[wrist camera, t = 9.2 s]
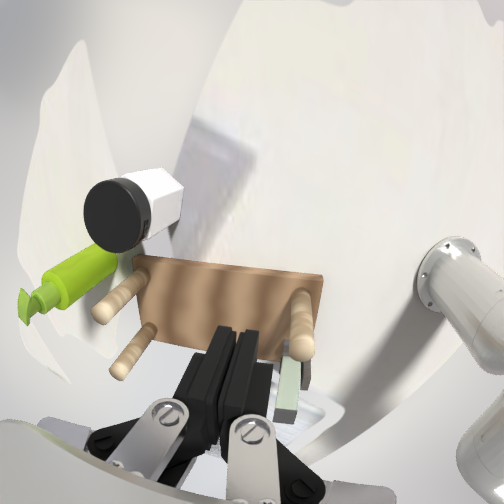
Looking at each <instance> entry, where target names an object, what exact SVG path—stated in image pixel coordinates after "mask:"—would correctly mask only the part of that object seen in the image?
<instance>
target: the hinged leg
mask: <svg viewBox="0 0 504 504" xmlns="http://www.w3.org/2000/svg"><path fill="white" fill-rule="evenodd" d="M300 366H301V362H298V361H295V360H293V359H292V358H291V357H289V356H283V358H282V365H281V372H280V379H279V385H278V392H277V398H276V405H275V411H274V417H273V422H276V423H285V424H294V421H295V418H296V415H297V407H298V395H299V381H300Z"/></svg>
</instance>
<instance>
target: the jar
mask: <svg viewBox="0 0 504 504" xmlns="http://www.w3.org/2000/svg"><path fill="white" fill-rule="evenodd" d="M183 192H184V187H183V186H181V185H180V184H179V183H178V182H177V181H176V180H175V179H174V178H173V177H172V176H170V175H169V174H168V173H167V172H166V171H165V170H164V169H163V168H155V169H149V170H144V171H138V172H133V173H128V174H124V175H123V176H121V177H119V178H114V179H110V180H106V181H102V182H100V183H98V184H96V185H95V186H94V187H93V188H92V189H91V190H90V191H89V193H88V195H87V197H86V200H85V203H84V222H85V226H86V229H87V231H88V233H89V235H90V237H91V238H92V240H93V241H94V242H95V243H96V244H97V245H98V246H99V247H100V248H102V249H103V250H105V251H107V252H110V253H123V252H125V251H127V250H130V249H132V248H133V247H135V246H136V245H138V244H139V243H140V242H141V241H144V240H147V239H149V238H151V237H152V236H154V235H155V234H157V233H158V232H160V231H162V230H163V229H165V228H166V227H168V226H169V225H171V224H173V223H174V222H176V221H177V220H179V219H180V213H181V206H182V199H183Z"/></svg>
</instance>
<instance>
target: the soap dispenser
mask: <svg viewBox="0 0 504 504" xmlns="http://www.w3.org/2000/svg"><path fill="white" fill-rule="evenodd" d="M117 263H118V260H117V255H116V253H110V252H107V251H105V250H103V249H102V248H100V247H99V246H98V245H97V244H96V243H94V244H93V245H91V246H89V247H87V248H85V249H84V250H82V251H80V252H78V253H77V254H75V255H73V256H72V257H70V258H68V259H66V260H65V261H63V262H61V263H60V264H58V265H56V266H55V267H53V268H51V269H50V270H48V271H47V272H45V273H44V274H43V276H42V286H40V287H39V288H37V289H36V290H34V291H33V292H32V293H31V297H30V296H29V295H28V294H27V293H26V292H25V291H24V290H23V289H22V288H21V289H20V293H19V297H18V316H19V318H20V319H21V320H22V321H23V322H24V323H25V324H26V325H27V326H28V325H29V324H30V317H32V316H33V315H34V314H36V313H37V312H39V313H41V314H46V313H47V312H48V311H50V310H51V309H52V308H53V307H56V308H57V309H60V310H65V309H67V308H68V307H69V306H70V305H72V304H73V303H74V302H75V301H77V300H78V299H79V298H80V297H82V296H83V295H84V294H85V293H87V292H88V291H89V290H90V289H92V288H93V287H94V286H96V285H97V284H98V283H99V282H101V281H102V280H103V279H105V278H106V277H107V276H109V275H110V274H111V273H112V272H114V271H115V270H116V268H117Z"/></svg>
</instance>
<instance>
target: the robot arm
mask: <svg viewBox="0 0 504 504" xmlns="http://www.w3.org/2000/svg"><path fill="white" fill-rule="evenodd" d="M417 291H418V295H419V297H420V300H421V301H422V303H423V304H424V305H425V306H426V308H428V309H429V310H431V311H433V312H437V313H443V314H444V316H445V317H446V318H447V320H448V321H449V322H450V324H451V325H452V327H453V328H454V329H455V331H456V332H457V334H458V335H459V337H460V338H461V339H462V341H463V342H464V344H465V345H466V347H467V348H468V350H469V351H470V353H471V354H472V356H473V357H474V359H475V360H476V362H477V363H478V365H479V366H480V367H481V368H482V369H483V370H484V371H486V372H487V373H490V374H494V375H504V279H503V278H502V277H501V276H500V275H498V274H497V273H496V272H495V271H493V270H492V269H491V268H490V267H488V266H487V265H486V264H484V263H483V262H482V261H481V256H480V253H479V251H478V249H477V247H476V246H475V245H474V244H473V243H472V242H471V241H469V240H468V239H466V238H464V237H459V236H454V237H449V238H446V239H444V240H442V241H440V242H439V243H438V244H436V245H435V246H434V247H433V248H432V249H431V250H430V251H429V252H428V254H427V255H426V257H425V258H424V260H423V262H422V264H421V266H420V269H419V272H418V277H417ZM236 337H237V332H236V331H232V327H228V326H221V325H218V327H217V329H216V331H215V333H214V336H213V338H212V340H211V342H210V345H209V347H208V349H207V352H206V354H202V353H194V355H193V356H192V359H191V361H190V363H189V365H188V367H187V369H186V371H185V373H184V375H183V377H182V379H181V381H180V384H179V385H178V387H177V390H176V391H175V394H174V396H173V398H164V399H159V400H157V401H155V402H153V403H152V405H150V406H149V408H148V409H147V410H146V411H145V413H144V414H143V415H142V416H141V417H140V418H137V419H134V420H130V421H127V422H124V423H120V424H117V425H113V426H110V427H106V428H102V429H99V430H97V431H94V430H91V428H89V427H85V426H81V425H77V424H73V423H70V422H66V421H63V420H60V419H56V418H53V417H47V418H43V419H42V420H40V422H39V423H38V425H37V426H36V425H33V424H31V423H27V422H24V421H19V420H12V419H7V420H2V421H0V504H396V495H395V493H394V491H393V490H391V489H390V488H387V487H383V486H373V485H364V484H355V483H347V482H341V481H336V480H334V481H333V482H330V481H325V480H322V479H321V478H320V477H319V476H318V475H316V474H315V473H314V472H313V471H312V470H311V469H309V468H308V467H307V466H306V465H305V464H304V463H302V462H301V461H300V460H299V459H298V458H297V457H296V456H295V455H293V454H292V453H291V452H290V451H289V450H288V449H287V448H286V447H285V446H284V445H283V444H281V443H280V442H279V441H278V440H277V439H276V432H275V428H274V425H273V424H272V423H271V421H269V420H268V419H267V418H266V414H267V408H268V401H269V394H270V386H271V379H272V372H273V364H267V363H259V362H257V352H258V341H259V331H257V330H249V329H246V330H245V332H240V334H239V337H238V340H237V343H236ZM219 436H220V446H221V457H222V458H223V459H224V460H225V462H226V463H227V464H228V469H227V470H228V471H227V488H226V500H223V499H218V498H213V497H208V496H204V495H199V494H195V493H191V492H187V491H183V490H180V488H181V486H182V484H183V483H184V481H185V479H186V477H187V476H188V474H189V472H190V470H191V469H192V467H193V465H194V463H195V461H196V459H197V456H199V455H202V454H204V453H205V450H209V451H210V448H211V445H212V444H213V445H217V442H218V439H219ZM456 461H457V466H458V469H459V471H460V473H461V475H462V477H463V478H464V480H465V481H466V482H467V483H468V485H469V486H470V487H471V488H472V489H473V490H474V491H476V492H477V493H478V494H479V495H480V496H481V497H482V498H483V499H484V500H486V502H488V503H489V504H504V390H503V391H502V393H501V394H500V395H499V397H498V398H497V399H496V400H495V401H494V402H493V403H492V404H491V406H490V407H489V408H488V409H487V410H486V411H485V412H484V413H483V415H481V416H480V417H479V418H478V420H477V421H476V422H475V423H474V424H473V425H472V426H471V427H470V428H469V429H468V430H467V431H466V433H465V434H464V435H463V437H462V438H461V440H460V442H459V444H458V447H457V450H456Z"/></svg>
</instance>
